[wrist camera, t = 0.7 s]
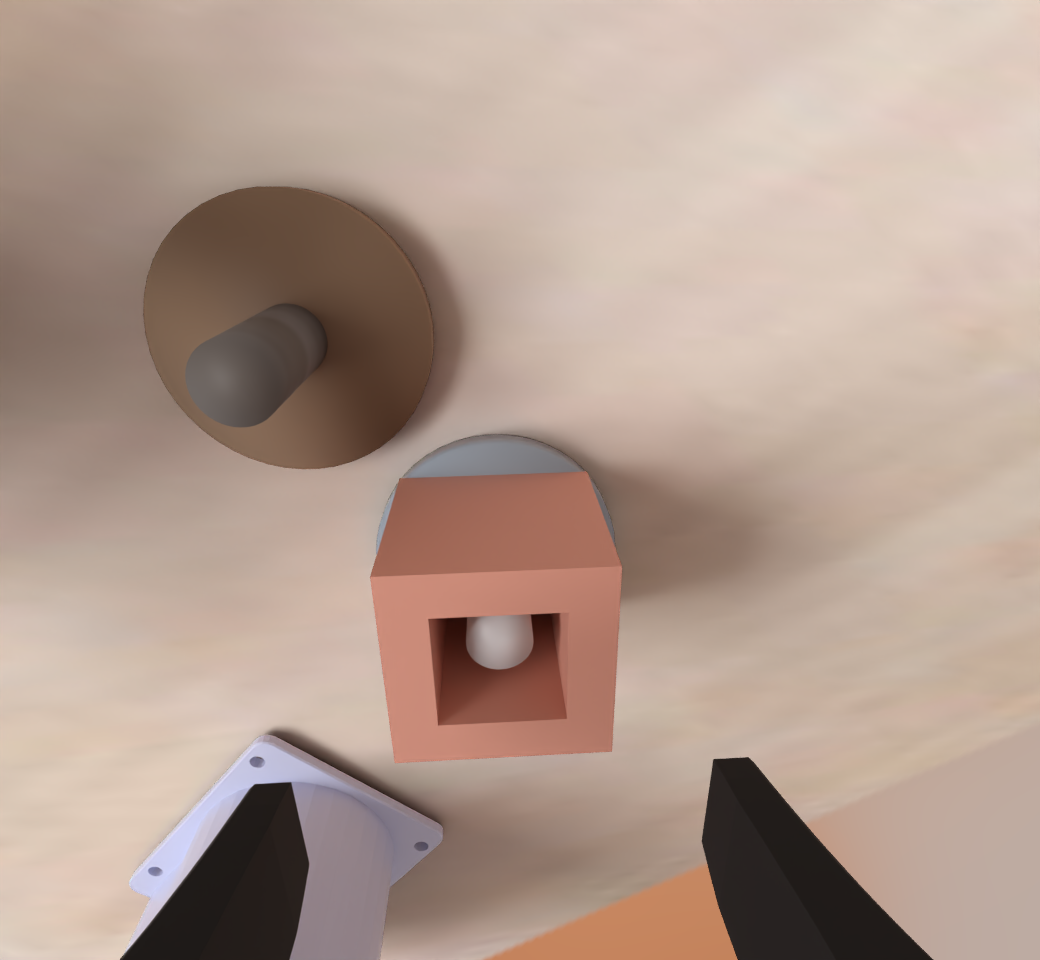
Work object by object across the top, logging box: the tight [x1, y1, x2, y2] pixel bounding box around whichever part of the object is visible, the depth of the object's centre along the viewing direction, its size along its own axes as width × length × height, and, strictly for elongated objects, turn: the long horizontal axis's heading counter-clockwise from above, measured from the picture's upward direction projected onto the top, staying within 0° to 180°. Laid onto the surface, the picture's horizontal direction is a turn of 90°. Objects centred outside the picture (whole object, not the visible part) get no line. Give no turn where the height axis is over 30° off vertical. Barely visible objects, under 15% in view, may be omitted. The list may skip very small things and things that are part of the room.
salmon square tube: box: [370, 472, 622, 763], centre depth 17 cm, size 5×5×5 cm
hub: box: [143, 187, 434, 469], centre depth 15 cm, size 7×7×5 cm
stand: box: [376, 435, 615, 669], centre depth 17 cm, size 7×7×5 cm
